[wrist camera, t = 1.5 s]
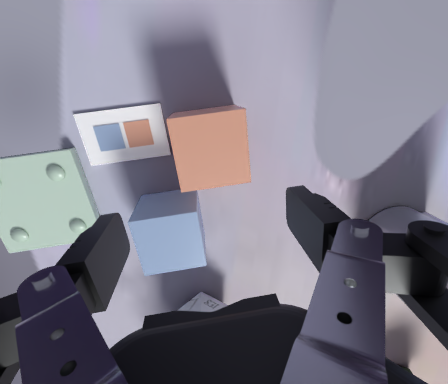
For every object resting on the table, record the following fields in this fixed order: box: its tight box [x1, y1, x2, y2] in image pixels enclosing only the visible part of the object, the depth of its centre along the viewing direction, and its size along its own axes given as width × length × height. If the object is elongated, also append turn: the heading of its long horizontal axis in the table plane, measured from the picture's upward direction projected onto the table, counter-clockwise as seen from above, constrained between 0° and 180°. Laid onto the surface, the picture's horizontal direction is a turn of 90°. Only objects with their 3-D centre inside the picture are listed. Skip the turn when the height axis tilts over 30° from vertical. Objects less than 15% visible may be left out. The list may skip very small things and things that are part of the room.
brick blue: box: [128, 189, 207, 276], centre depth 25 cm, size 6×6×6 cm
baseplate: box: [0, 147, 100, 253], centre depth 25 cm, size 10×10×1 cm
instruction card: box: [73, 103, 171, 166], centre depth 24 cm, size 8×5×1 cm, turn 97°
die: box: [177, 292, 228, 312], centre depth 30 cm, size 8×9×10 cm
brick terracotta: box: [166, 105, 251, 193], centre depth 22 cm, size 6×6×6 cm
